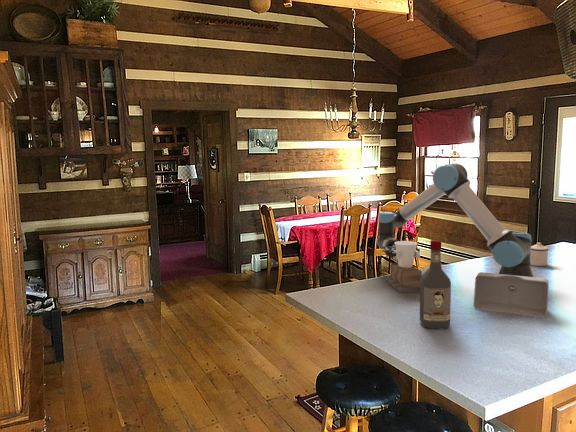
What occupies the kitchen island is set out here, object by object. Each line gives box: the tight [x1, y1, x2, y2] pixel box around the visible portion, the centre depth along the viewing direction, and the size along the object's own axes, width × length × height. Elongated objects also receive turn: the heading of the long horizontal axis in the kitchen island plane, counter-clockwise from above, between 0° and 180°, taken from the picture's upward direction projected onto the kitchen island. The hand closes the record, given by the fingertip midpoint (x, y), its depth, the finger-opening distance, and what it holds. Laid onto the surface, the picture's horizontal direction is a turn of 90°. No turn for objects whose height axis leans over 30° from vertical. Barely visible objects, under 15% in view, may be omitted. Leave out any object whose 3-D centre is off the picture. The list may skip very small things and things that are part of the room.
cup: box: [395, 240, 418, 268], centre depth 212 cm, size 10×10×11 cm
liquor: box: [419, 239, 452, 330], centre depth 163 cm, size 9×9×30 cm
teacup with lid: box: [530, 242, 549, 267], centre depth 249 cm, size 12×9×12 cm
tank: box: [473, 271, 549, 318], centre depth 181 cm, size 25×16×12 cm, turn 61°
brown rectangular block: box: [385, 262, 423, 293], centre depth 213 cm, size 18×12×9 cm, turn 6°
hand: (409, 255), depth 207 cm, fingers closed on cup, 8 cm apart
